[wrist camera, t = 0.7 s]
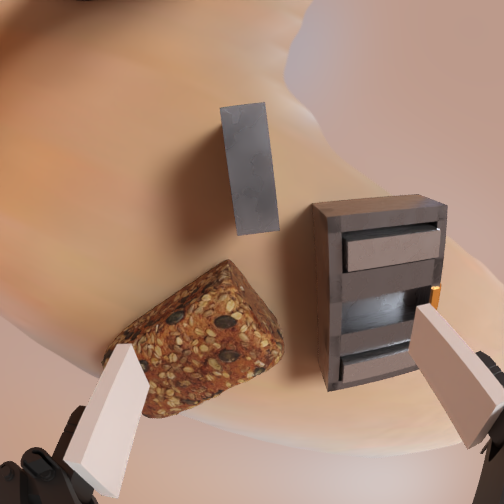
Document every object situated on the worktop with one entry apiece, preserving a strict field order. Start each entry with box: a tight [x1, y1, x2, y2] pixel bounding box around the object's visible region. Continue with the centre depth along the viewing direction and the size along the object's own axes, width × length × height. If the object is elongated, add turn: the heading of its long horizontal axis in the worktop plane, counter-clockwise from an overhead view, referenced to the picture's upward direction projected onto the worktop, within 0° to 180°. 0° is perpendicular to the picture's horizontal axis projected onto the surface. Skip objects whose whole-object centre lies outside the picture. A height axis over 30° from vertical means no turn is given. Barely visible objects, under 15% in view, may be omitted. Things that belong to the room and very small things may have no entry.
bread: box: [101, 260, 284, 418], centre depth 31 cm, size 19×11×10 cm, turn 124°
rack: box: [312, 194, 447, 392], centre depth 31 cm, size 21×14×7 cm, turn 7°
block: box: [220, 102, 280, 236], centre depth 25 cm, size 9×3×10 cm, turn 7°
